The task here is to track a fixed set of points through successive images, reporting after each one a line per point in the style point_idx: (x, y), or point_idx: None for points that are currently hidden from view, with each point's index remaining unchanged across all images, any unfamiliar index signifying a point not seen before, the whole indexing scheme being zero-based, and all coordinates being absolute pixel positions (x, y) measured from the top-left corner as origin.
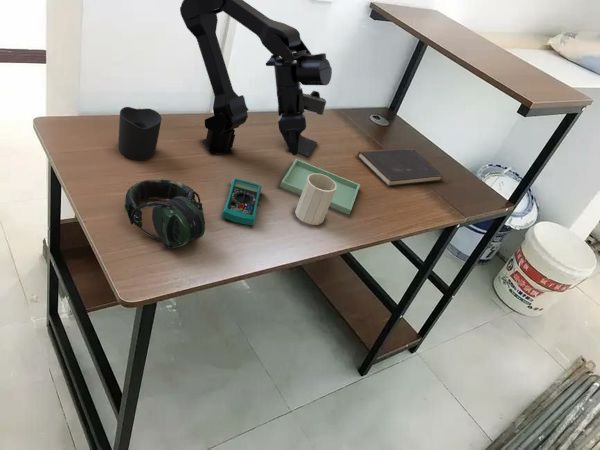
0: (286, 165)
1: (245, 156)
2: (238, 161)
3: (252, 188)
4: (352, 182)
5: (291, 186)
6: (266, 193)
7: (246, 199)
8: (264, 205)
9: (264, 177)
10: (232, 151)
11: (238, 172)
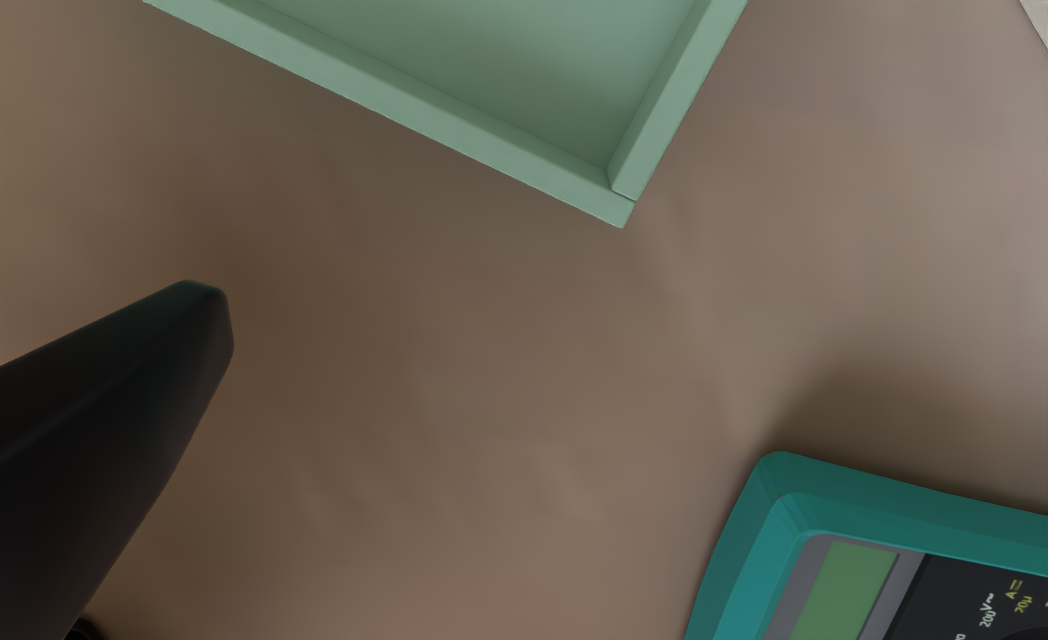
0: (22, 6)
1: None
2: (208, 569)
3: (834, 578)
4: None
5: (696, 94)
6: (744, 360)
7: (1012, 636)
8: (965, 406)
9: (428, 342)
10: (70, 631)
11: (419, 586)
